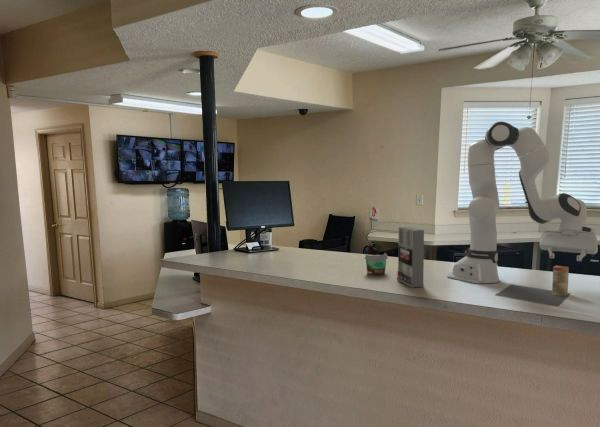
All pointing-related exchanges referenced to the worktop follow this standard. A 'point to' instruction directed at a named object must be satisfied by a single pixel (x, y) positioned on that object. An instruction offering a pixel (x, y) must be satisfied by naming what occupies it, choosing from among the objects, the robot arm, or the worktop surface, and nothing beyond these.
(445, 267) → the worktop surface
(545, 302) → the charcoal mat
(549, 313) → the worktop surface
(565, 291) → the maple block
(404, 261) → the cassette tape recorder
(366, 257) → the food container
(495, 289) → the worktop surface
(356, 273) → the worktop surface
